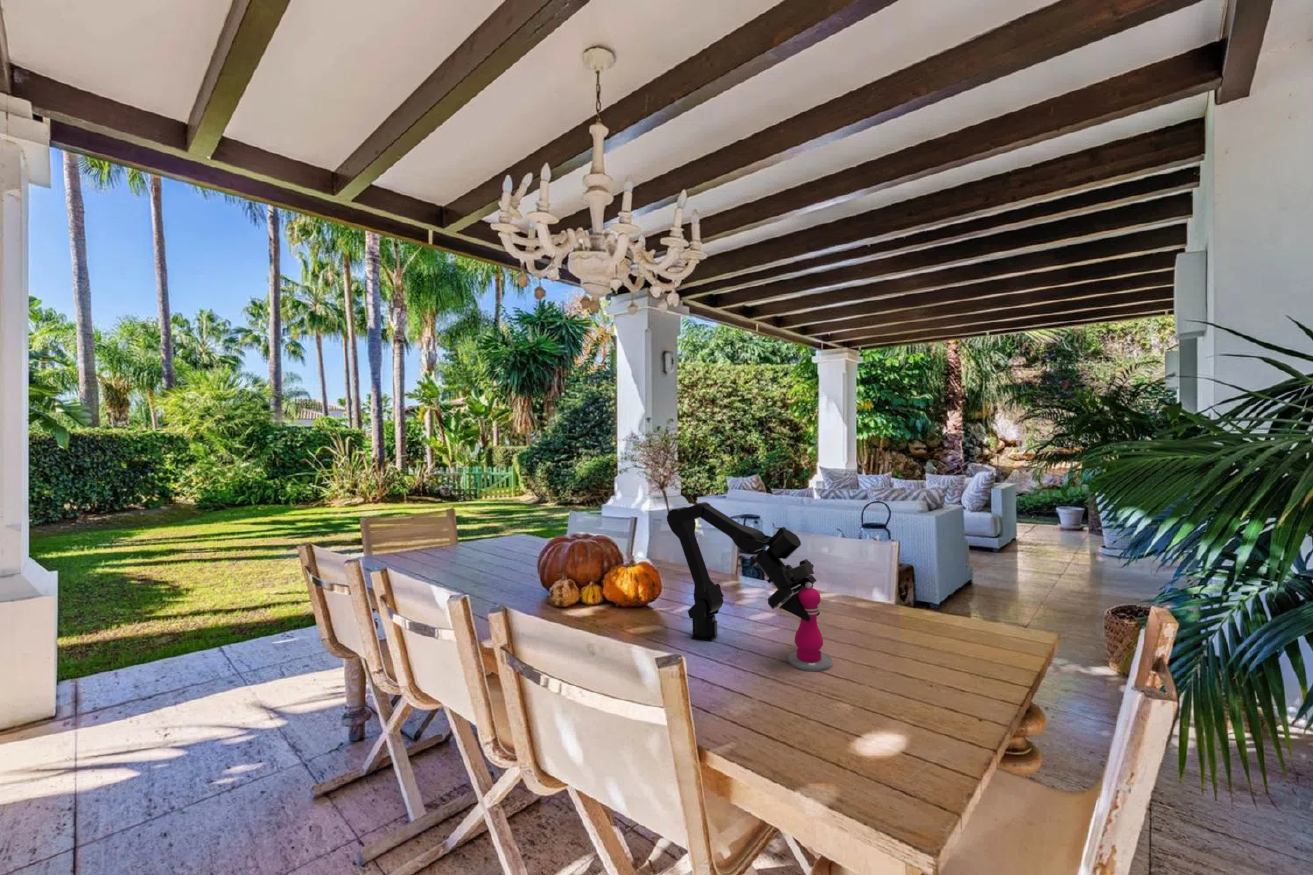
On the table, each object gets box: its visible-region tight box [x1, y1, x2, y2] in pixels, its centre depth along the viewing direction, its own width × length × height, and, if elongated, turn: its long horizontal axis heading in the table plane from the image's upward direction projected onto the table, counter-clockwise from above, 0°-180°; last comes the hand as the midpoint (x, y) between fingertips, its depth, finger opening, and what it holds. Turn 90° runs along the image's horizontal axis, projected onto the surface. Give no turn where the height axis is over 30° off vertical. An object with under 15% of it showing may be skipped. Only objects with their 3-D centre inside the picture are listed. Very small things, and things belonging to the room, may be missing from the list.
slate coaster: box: [788, 650, 833, 673], centre depth 152 cm, size 11×11×1 cm
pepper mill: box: [794, 582, 824, 662], centre depth 152 cm, size 7×7×20 cm
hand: (814, 617), depth 151 cm, fingers open, 5 cm apart
